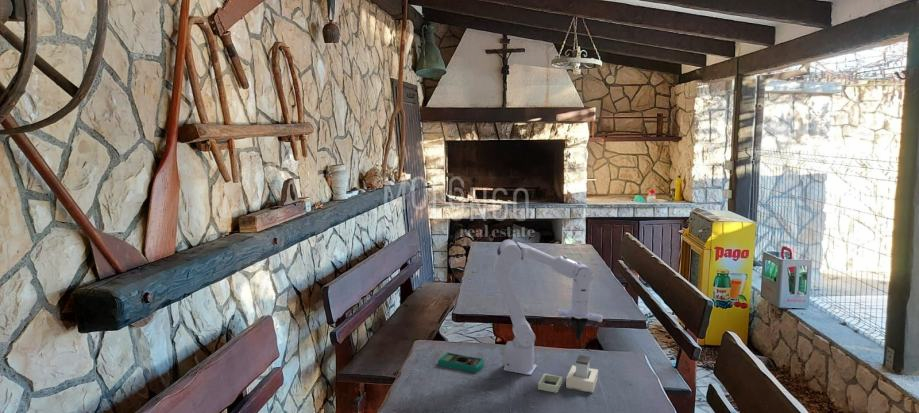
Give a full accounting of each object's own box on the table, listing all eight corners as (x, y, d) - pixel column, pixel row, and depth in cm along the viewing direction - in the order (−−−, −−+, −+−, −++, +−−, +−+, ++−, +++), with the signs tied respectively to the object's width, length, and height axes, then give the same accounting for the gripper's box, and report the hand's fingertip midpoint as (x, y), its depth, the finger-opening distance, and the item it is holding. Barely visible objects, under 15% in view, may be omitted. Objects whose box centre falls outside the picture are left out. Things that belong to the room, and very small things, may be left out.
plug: (575, 384, 178) (576, 360, 177) (577, 378, 183) (579, 354, 182) (586, 386, 177) (587, 362, 176) (588, 380, 181) (590, 356, 180)
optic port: (566, 387, 177) (566, 376, 176) (572, 375, 186) (572, 364, 185) (592, 393, 174) (593, 381, 173) (597, 379, 183) (598, 368, 182)
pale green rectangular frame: (537, 389, 176) (538, 383, 176) (543, 379, 183) (543, 373, 183) (557, 392, 174) (557, 386, 173) (562, 382, 181) (562, 376, 180)
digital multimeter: (477, 375, 186) (478, 366, 186) (437, 367, 192) (437, 358, 192) (485, 366, 193) (485, 358, 193) (445, 358, 199) (446, 351, 198)
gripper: (556, 300, 187) (554, 339, 189) (601, 306, 181) (599, 346, 183) (560, 294, 193) (559, 332, 195) (604, 300, 188) (602, 339, 190)
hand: (578, 339), depth 190 cm, fingers closed
